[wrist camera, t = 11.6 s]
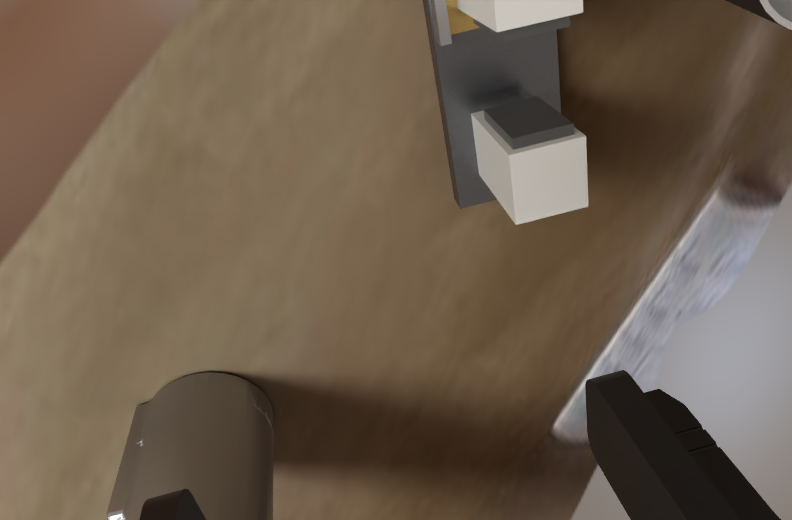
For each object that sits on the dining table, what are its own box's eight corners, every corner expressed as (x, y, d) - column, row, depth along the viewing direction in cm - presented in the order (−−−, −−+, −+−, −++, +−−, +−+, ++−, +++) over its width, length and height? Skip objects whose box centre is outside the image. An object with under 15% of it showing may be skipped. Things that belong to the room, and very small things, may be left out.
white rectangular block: (479, 174, 39) (516, 224, 33) (469, 103, 36) (507, 144, 30) (540, 159, 39) (588, 206, 33) (535, 87, 36) (585, 124, 30)
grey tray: (454, 198, 41) (465, 216, 39) (404, -114, 31) (414, -115, 29) (555, 173, 41) (572, 189, 39) (536, -144, 32) (556, -147, 29)
